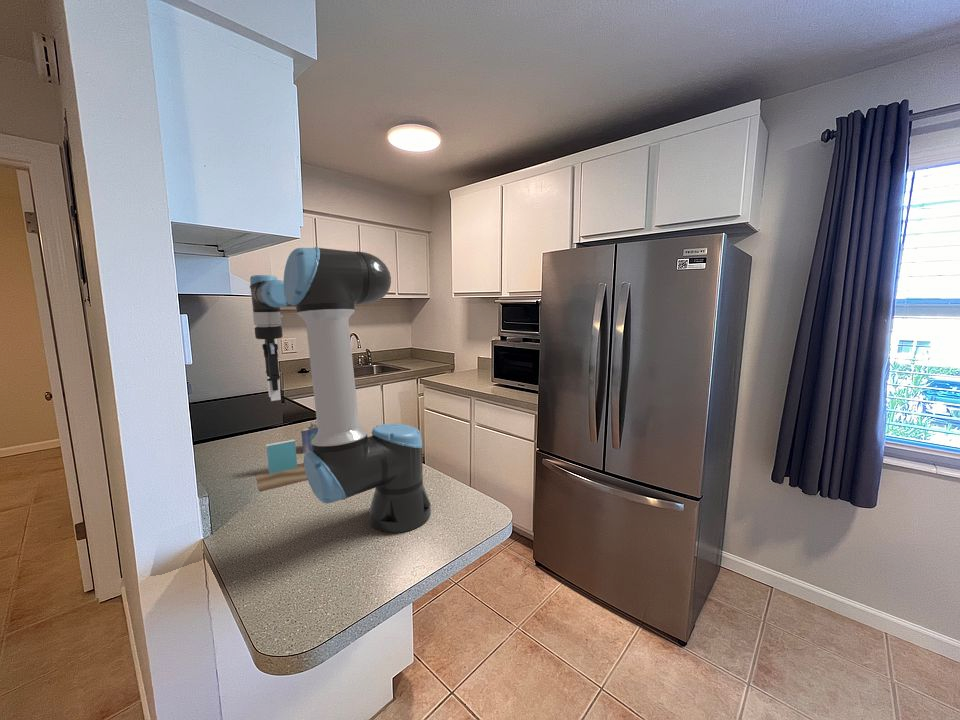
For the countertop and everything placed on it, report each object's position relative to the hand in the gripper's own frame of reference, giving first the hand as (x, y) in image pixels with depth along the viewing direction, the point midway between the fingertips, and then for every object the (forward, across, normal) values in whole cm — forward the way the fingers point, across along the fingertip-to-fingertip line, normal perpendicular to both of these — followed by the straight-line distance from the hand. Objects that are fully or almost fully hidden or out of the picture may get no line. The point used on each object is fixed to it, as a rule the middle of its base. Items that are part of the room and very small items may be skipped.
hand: (274, 398), depth 124 cm
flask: (+23, +7, -12) cm, 27 cm away
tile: (+22, -6, 0) cm, 23 cm away
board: (+23, -11, 0) cm, 25 cm away
